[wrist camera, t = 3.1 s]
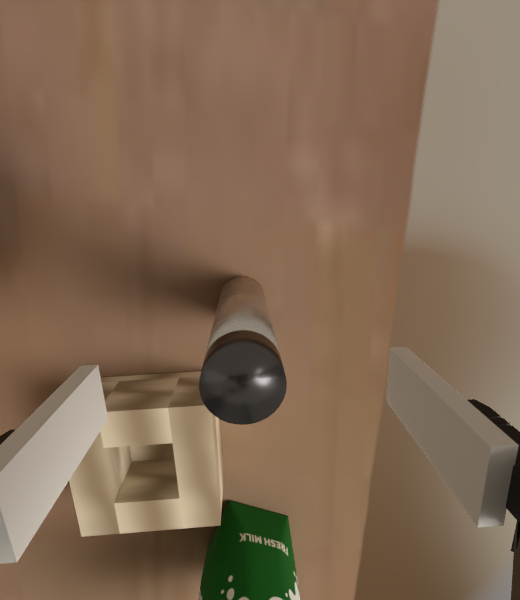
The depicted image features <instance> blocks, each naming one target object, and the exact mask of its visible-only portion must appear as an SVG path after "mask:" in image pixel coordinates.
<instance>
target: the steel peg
mask: <svg viewBox="0 0 520 600" xmlns="http://www.w3.org/2000/svg"><path fill="white" fill-rule="evenodd" d="M286 384H287V383H286V376H285V372H284V368H283V365H282V361H281V357H280V353H279V349H278V345H277V342H276V338H275V334H274V330H273V326H272V322H271V319H270V315H269V311H268V307H267V303H266V299H265V296H264V292H263V289H262V287H261V286H260V284H259V283H258V282H257V281H255V280H254V279H252V278H249V277H245V276H240V277H235V278H233V279H231V280H229V281H228V282H227V283H226V284H225V285H224V287H223V288H222V291H221V294H220V298H219V303H218V307H217V311H216V315H215V319H214V323H213V327H212V331H211V335H210V339H209V343H208V347H207V351H206V355H205V359H204V363H203V367H202V371H201V375H200V379H199V392H200V396H201V399H202V401H203V403H204V405H205V406H206V408H207V409H208V410H209V411H210V412H211V413H212V414H213V415H214V416H216V417H217V418H219V419H221V420H223V421H226V422H228V423H233V424H252V423H256V422H259V421H261V420H263V419H265V418H267V417H269V416H270V415H271V414H272V413H274V412H275V411H276V410H277V408H278V407H279V406H280V404H281V403H282V401H283V399H284V396H285V393H286Z"/></svg>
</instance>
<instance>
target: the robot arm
mask: <svg viewBox="0 0 520 600" xmlns="http://www.w3.org/2000/svg"><path fill="white" fill-rule="evenodd" d="M386 402H387V403H388V404H389V406H390V407H391V409H392V410H393V411H394V413H395V414H396V415H397V417H398V418H399V419H400V421H401V422H402V423H403V425H404V426H405V428H406V429H407V431H408V432H409V433H410V435H411V436H412V437H413V439H414V440H415V442H416V443H417V444H418V446H419V447H420V448H421V450H422V451H423V453H424V454H425V455H426V456H427V458H428V460H429V461H430V462H431V464H432V465H433V466H434V468H435V469H436V471H437V472H438V473H439V475H440V476H441V477H442V478H443V480H444V481H445V483H446V484H447V486H448V487H449V488H450V490H451V491H452V493H453V494H454V495H455V497H456V498H457V499H458V500H459V502H460V504H461V505H462V506H463V508H464V509H465V510H466V512H467V513H468V515H469V516H470V517H471V519H472V520H473V522H474V523H475V524H476V526H477V527H489V526H502V525H504V519H505V514H506V509H508V510H509V511H510V513H512V515H513V516H514V517H515V518H516V519H517V524H516V529H515V534H514V539H513V543H512V549H511V551H513V552H514V559H513V576H512V591H511V600H520V432H519V431H518V430H517V429H515V428H514V427H513V426H510V424H509V423H508V422H507V421H506V420H505V419H503V418H501V416H500V415H499V414H497V413H496V412H495V411H493V410H492V409H491V408H490V407H488V406H486V405H484V404H482V403H480V402H478V401H477V400H474V399H473V400H466V399H465V398H464V397H463V396H462V395H461V394H459V393H458V392H457V391H456V390H455V389H454V388H453V387H451V386H450V385H449V384H448V383H447V382H446V381H445V380H443V379H442V378H441V377H440V376H439V375H438V374H437V373H435V372H434V371H433V370H432V369H431V368H430V367H429V366H427V365H426V364H425V363H424V362H423V361H422V360H420V359H419V358H418V357H417V356H416V355H415V354H414V353H412V352H411V351H410V350H409V349H408V348H407V347H399V348H390V351H389V367H388V382H387V397H386ZM107 420H108V415H107V410H106V405H105V399H104V394H103V388H102V383H101V378H100V372H99V367H98V365H86V366H80V367H79V368H78V369H77V370H76V371H75V372H74V373H73V374H72V375H71V376H70V377H69V378H68V379H67V380H66V381H65V382H64V383H63V384H62V385H61V386H60V387H59V388H58V389H57V390H56V391H54V392H53V393H52V394H51V395H50V396H49V397H48V398H47V399H46V400H45V401H44V402H43V403H42V404H41V405H40V406H39V407H38V408H37V409H36V410H35V411H34V412H33V413H32V414H31V415H30V416H29V417H28V418H27V419H26V420H25V421H24V422H23V423H22V424H21V425H20V426H19V427H18V428H17V429H15V430H9V431H8V432H6V433H5V434H3V435H1V436H0V564H2V563H15V562H18V560H19V559H20V557H21V555H22V554H23V552H24V551H25V549H26V548H27V546H28V544H29V543H30V541H31V540H32V538H33V536H34V535H35V533H36V532H37V530H38V529H39V527H40V525H41V524H42V522H43V521H44V519H45V518H46V516H47V514H48V513H49V511H50V510H51V508H52V506H53V505H54V503H55V502H56V500H57V499H58V497H59V495H60V494H61V492H62V491H63V489H64V488H65V486H66V484H67V483H68V481H69V480H70V478H71V477H72V475H73V473H74V472H75V470H76V469H77V467H78V465H79V464H80V462H81V461H82V459H83V458H84V456H85V454H86V453H87V451H88V450H89V448H90V447H91V445H92V443H93V442H94V440H95V439H96V437H97V436H98V434H99V432H100V431H101V429H102V428H103V426H104V424H105V423H106V421H107Z"/></svg>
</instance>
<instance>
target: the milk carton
mask: <svg viewBox="0 0 520 600" xmlns="http://www.w3.org/2000/svg"><path fill="white" fill-rule="evenodd" d="M199 600H300V595H299V588H298V582H297V575H296V568H295V561H294V554H293V548H292V541H291V535H290V528H289V521H288V516H285V515H281V514H278V513H274V512H270V511H267V510H263V509H259V508H256V507H252V506H248V505H244V504H241V503H237V502H233V501H230V500H229V501H228V503H227V506H226V508H225V510H224V512H223V515H222V517H221V526H217V528H216V530H215V533H214V535H213V537H212V539H211V542H210V544H209V546H208V548H207V553H206V559H205V564H204V569H203V574H202V579H201V586H200V594H199Z"/></svg>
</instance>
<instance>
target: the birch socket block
mask: <svg viewBox="0 0 520 600" xmlns="http://www.w3.org/2000/svg"><path fill="white" fill-rule="evenodd" d="M200 375H201V371H196V372H180V373H164V374H148V375H132V376H116V377H100V378H101V383H102V388H103V394H104V399H105V405H106V410H107V415H108V420H107V421H106V423H105V424H104V426H103V428H102V429H101V431H100V432H99V434H98V436H97V437H96V439H95V440H94V442H93V443H92V445H91V447H90V448H89V450H88V451H87V453H86V454H85V456H84V458H83V459H82V461H81V462H80V464H79V465H78V467H77V469H76V470H75V472H74V473H73V475H72V477H71V478H70V480H69V483H70V487H71V492H72V496H73V500H74V505H75V509H76V514H77V518H78V522H79V527H80V531H81V536H82V537H85V536H97V535H109V534H122V533H134V532H147V531H159V530H171V529H184V528H196V527H208V526H221V511H222V495H223V480H224V470H223V458H222V446H221V434H220V422H219V418H217V417H216V416H214V415H213V414H212V413H211V412H210V411H209V410H208V409H207V408H206V406H205V405H204V403H203V401H202V399H201V396H200V392H199V379H200Z"/></svg>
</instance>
